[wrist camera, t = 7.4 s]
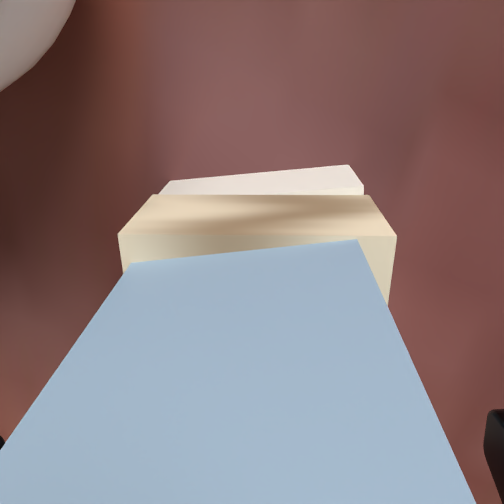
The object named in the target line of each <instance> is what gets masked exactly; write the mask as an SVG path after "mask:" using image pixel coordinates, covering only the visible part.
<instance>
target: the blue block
mask: <svg viewBox="0 0 504 504" xmlns="http://www.w3.org/2000/svg"><path fill="white" fill-rule="evenodd" d="M0 504H476V502H475V500H474V498H473V495H472V493H471V491H470V489H469V487H468V484H467V482H466V480H465V478H464V475H463V473H462V471H461V469H460V467H459V464H458V462H457V460H456V458H455V455H454V453H453V451H452V449H451V447H450V444H449V442H448V440H447V438H446V435H445V433H444V431H443V429H442V427H441V424H440V422H439V420H438V418H437V415H436V413H435V411H434V409H433V406H432V404H431V402H430V400H429V398H428V395H427V393H426V391H425V389H424V386H423V384H422V382H421V380H420V378H419V375H418V373H417V371H416V369H415V366H414V364H413V362H412V360H411V358H410V355H409V353H408V351H407V349H406V346H405V344H404V342H403V340H402V338H401V335H400V333H399V331H398V329H397V326H396V324H395V322H394V320H393V317H392V315H391V313H390V311H389V309H388V306H387V304H386V302H385V300H384V297H383V295H382V293H381V291H380V289H379V286H378V284H377V282H376V280H375V277H374V275H373V273H372V271H371V269H370V266H369V264H368V262H367V260H366V257H365V255H364V253H363V251H362V248H361V246H360V244H359V242H358V240H357V239H353V240H344V241H334V242H325V243H315V244H305V245H296V246H286V247H277V248H267V249H258V250H248V251H239V252H229V253H220V254H210V255H201V256H191V257H182V258H172V259H163V260H153V261H144V262H134V263H131V264H130V265H129V267H128V268H127V269H126V271H125V272H124V274H123V275H122V277H121V278H120V280H119V281H118V282H117V284H116V285H115V287H114V288H113V290H112V291H111V292H110V294H109V295H108V297H107V298H106V300H105V301H104V302H103V304H102V305H101V307H100V308H99V310H98V311H97V312H96V314H95V315H94V317H93V318H92V320H91V321H90V322H89V324H88V325H87V327H86V328H85V330H84V331H83V332H82V334H81V335H80V337H79V338H78V340H77V341H76V343H75V344H74V345H73V347H72V348H71V350H70V351H69V353H68V354H67V355H66V357H65V358H64V360H63V361H62V363H61V364H60V365H59V367H58V368H57V370H56V371H55V373H54V374H53V375H52V377H51V378H50V380H49V381H48V383H47V384H46V385H45V387H44V388H43V390H42V391H41V393H40V394H39V396H38V397H37V398H36V400H35V401H34V403H33V404H32V406H31V407H30V408H29V410H28V411H27V413H26V414H25V416H24V417H23V418H22V420H21V421H20V423H19V424H18V426H17V427H16V428H15V430H14V431H13V433H12V434H11V436H10V437H9V438H8V440H7V441H6V443H5V444H4V446H3V447H2V448H1V450H0Z"/></svg>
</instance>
